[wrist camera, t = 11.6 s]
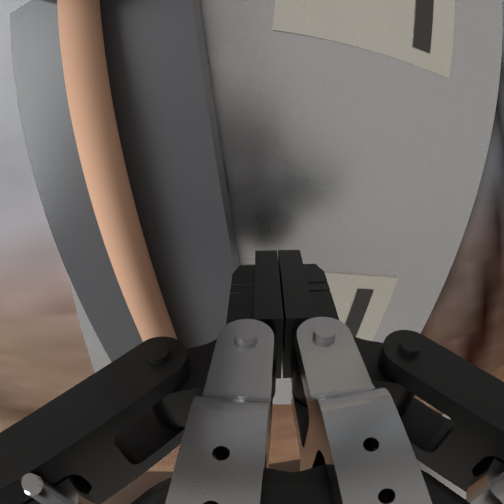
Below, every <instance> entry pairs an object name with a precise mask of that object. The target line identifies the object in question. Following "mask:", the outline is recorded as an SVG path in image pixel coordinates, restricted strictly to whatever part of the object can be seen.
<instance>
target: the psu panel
mask: <svg viewBox="0 0 504 504" xmlns="http://www.w3.org/2000/svg"><path fill="white" fill-rule="evenodd" d="M199 3H200V10H201V17H202V24H203V32H204V39H205V46H206V53H207V60H208V67H209V73H210V80H211V87H212V94H213V100H214V107H215V114H216V120H217V127H218V133H219V140H220V146H221V153H222V159H223V166H224V172H225V178H226V185H227V191H228V197H229V203H230V209H231V216H232V222H233V228H234V234H235V240H236V246H237V252H238V258H239V264H240V265H255V251H262V250H277V257H278V250H300V253H301V257H302V261H303V264H316V265H317V266H319V267H320V268H321V269H322V270H323V271H324V272H325V275H326V279H327V283H328V285H329V288H330V292H331V294H332V298H333V301H334V304H335V307H336V311H337V314H338V317H339V321H341V322H343V323H344V324H345V325H346V326H347V327H348V328H349V329H350V331H351V333H352V335H353V336H355V337H357V338H360V339H364V340H369V341H375V342H381V343H384V340H385V338H386V337H387V336H388V335H389V334H390V333H392V332H394V331H398V330H411V331H415V332H418V333H420V334H421V332H422V330H423V328H424V326H425V324H426V322H427V320H428V318H429V316H430V314H431V312H432V310H433V307H434V305H435V303H436V301H437V299H438V297H439V294H440V292H441V290H442V288H443V286H444V283H445V281H446V279H447V276H448V274H449V271H450V269H451V267H452V264H453V262H454V259H455V257H456V254H457V251H458V249H459V246H460V243H461V241H462V238H463V235H464V232H465V229H466V226H467V224H468V221H469V217H470V214H471V211H472V208H473V205H474V202H475V198H476V195H477V191H478V188H479V184H480V181H481V177H482V173H483V169H484V165H485V161H486V157H487V152H488V148H489V143H490V138H491V133H492V128H493V123H494V117H495V111H496V104H497V97H498V89H499V80H500V70H501V57H502V36H503V8H502V0H199ZM69 279H70V278H69ZM70 284H71V289H72V293H73V297H74V302H75V306H76V310H77V314H78V318H79V322H80V325H81V329H82V332H83V336H84V339H85V343H86V346H87V350H88V353H89V356H90V359H91V362H92V365H93V368H94V371H95V373H96V372H97V371H99V370H101V369H102V368H104V367H105V366H107V365H108V364H110V363H111V360H110V359H109V357H108V355H107V353H106V351H105V350H104V348H103V346H102V344H101V342H100V340H99V338H98V336H97V335H96V333H95V331H94V329H93V327H92V325H91V323H90V321H89V319H88V317H87V315H86V313H85V311H84V308H83V306H82V304H81V302H80V300H79V298H78V296H77V293H76V291H75V289H74V287H73V284H72V282H71V280H70ZM291 393H292V383H291V378H283V370H282V369H281V378H278V379H276V391H275V396H274V398H273V404H292V403H291Z"/></svg>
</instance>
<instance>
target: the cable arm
mask: <svg viewBox="0 0 504 504" xmlns="http://www.w3.org/2000/svg"><path fill="white" fill-rule="evenodd" d="M10 27H11V47H12V59H13V69H14V78H15V86H16V93H17V100H18V106H19V112H20V117H21V123H22V128H23V133H24V137H25V142H26V146H27V151H28V155H29V159H30V163H31V167H32V171H33V174H34V178H35V182H36V185H37V189H38V192H39V195H40V199H41V202H42V205H43V208H44V211H45V214H46V217H47V220H48V223H49V226H50V229H51V232H52V234H53V237H54V240H55V243H56V245H57V248H58V250H59V253H60V256H61V258H62V261H63V263H64V266H65V268H66V270H67V273H68V275H69V278H70V280H71V282H72V284H73V287H74V289H75V291H76V293H77V296H78V298H79V300H80V302H81V304H82V306H83V308H84V311H85V313H86V315H87V317H88V319H89V321H90V323H91V325H92V327H93V329H94V331H95V333H96V335H97V336H98V338H99V340H100V342H101V344H102V346H103V348H104V350H105V351H106V353H107V355H108V357H109V359H110V360H111V362H113V361H114V360H116V359H118V358H119V357H121V356H122V355H124V354H125V353H127V352H128V351H130V350H131V349H133V348H135V347H136V346H138V345H139V344H141V343H142V342H144V341H146V340H148V339H151V338H154V337H162V336H165V337H172V338H175V339H177V340H179V341H180V342H181V343H183V345H184V346H185V348H186V349H187V348H192V347H197V346H201V345H205V344H207V343H210V342H212V341H214V340H215V339H217V337H218V334H219V332H220V330H221V329H222V328H223V327H224V326H225V325H226V320H227V312H228V304H229V297H230V289H231V281H232V274H233V273H234V272H235V270H236V269H237V268H238V267H239V266H240V264H239V258H238V252H237V246H236V240H235V234H234V228H233V222H232V216H231V209H230V203H229V197H228V191H227V185H226V178H225V172H224V166H223V159H222V153H221V146H220V140H219V133H218V127H217V120H216V114H215V107H214V100H213V94H212V87H211V80H210V73H209V67H208V60H207V53H206V46H205V39H204V32H203V24H202V17H201V10H200V3H199V0H32V1H30V2H28V3H27V4H25V5H23V6H22V7H20V8H18V9H17V10H15V11H13V12H12V13H10Z"/></svg>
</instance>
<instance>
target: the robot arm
mask: <svg viewBox="0 0 504 504" xmlns="http://www.w3.org/2000/svg"><path fill="white" fill-rule="evenodd" d="M281 369H282V370H283V378H291V383H292V393H291V403H292V409H293V415H294V420H295V426H296V432H297V438H298V444H299V450H300V470H301V471H300V472H293V473H291V472H284V471H279V470H274V469H269V468H268V463H269V449H270V436H271V422H272V407H273V398H274V396H275V391H276V379H278V378H281ZM415 395H416V396H418V397H419V398H421V399H422V400H424V401H426V402H427V403H429V404H430V405H432V406H433V407H435V408H436V409H438V410H440V411H441V412H443V413H444V414H446V415H447V416H449V417H450V418H451V419H452V420H450V419H447V418H445V417H443V416H442V415H440V414H439V413H437V412H435V411H434V410H432V409H431V408H429V407H428V406H426V405H425V404H423V403H422V402H420V401H419V400H417V399H416V398H414V396H415ZM180 444H181V445H180ZM178 445H180V449H179V452H178V456H177V460H176V464H175V468H174V471H173V475H172V478H169V479H167V480H165V481H162V482H161V483H158V484H157V485H155V486H153V487H152V488H150V489H149V490H147V491H146V492H145V493H144V494H142V495H141V496H140V497H139V498H137V499H136V500H135V501H134V502H132V503H131V504H504V382H502V381H501V380H499V379H497V378H495V377H494V376H492V375H490V374H489V373H487V372H485V371H484V370H482V369H480V368H478V367H477V366H475V365H473V364H472V363H470V362H468V361H467V360H465V359H463V358H461V357H460V356H458V355H456V354H455V353H453V352H451V351H449V350H448V349H446V348H444V347H442V346H441V345H439V344H437V343H436V342H434V341H432V340H430V339H429V338H427V337H425V336H423V335H422V334H420V333H418V332H415V331H411V330H398V331H394V332H392V333H390V334H389V335H388V336H387V337H386V338H385V340H384V343H381V342H375V341H369V340H364V339H360V338H357V337H355V336H353V335H352V333H351V331H350V329H349V328H348V327H347V326H346V325H345V324H344V323H343V322H341V321H339V317H338V314H337V311H336V307H335V304H334V301H333V298H332V294H331V292H330V288H329V285H328V283H327V279H326V275H325V272H324V271H323V270H322V269H321V268H320V267H319V266H317V265H316V264H303V261H302V257H301V253H300V250H278V257H277V250H262V251H255V265H240V266H239V267H238V268H237V269H236V270H235V272H234V273H233V274H232V281H231V289H230V297H229V304H228V312H227V320H226V325H225V326H224V327H223V328H222V329H221V330H220V332H219V334H218V337H217V339H215V340H214V341H212V342H210V343H207V344H205V345H201V346H197V347H192V348H187V349H186V348H185V346H184V345H183V343H181V342H180V341H179V340H177V339H175V338H172V337H165V336H162V337H154V338H151V339H148V340H146V341H144V342H142V343H141V344H139V345H138V346H136V347H135V348H133V349H131V350H130V351H128V352H127V353H125V354H124V355H122V356H121V357H119V358H118V359H116V360H114V361H113V362H111V363H110V364H108V365H107V366H105V367H104V368H102V369H101V370H99V371H97V372H96V373H94V374H93V375H91V376H90V377H88V378H87V379H85V380H83V381H82V382H80V383H79V384H77V385H76V386H74V387H72V388H71V389H69V390H68V391H66V392H65V393H63V394H61V395H60V396H58V397H57V398H55V399H54V400H52V401H50V402H49V403H47V404H46V405H44V406H42V407H41V408H39V409H38V410H36V411H35V412H33V413H31V414H30V415H28V416H27V417H25V418H23V419H22V420H20V421H19V422H17V423H15V424H14V425H12V426H10V427H9V428H7V429H6V430H4V431H2V432H1V433H0V504H101V503H102V502H104V501H106V500H107V499H108V498H110V497H111V496H112V495H114V494H116V493H117V492H118V491H120V490H121V489H122V488H124V487H125V486H127V485H128V484H129V483H131V482H132V481H133V480H135V479H136V478H138V477H139V476H140V475H142V474H143V473H144V472H145V471H147V470H148V469H149V468H151V467H152V466H153V465H155V464H156V463H157V462H158V461H160V460H161V459H162V458H163V457H165V456H166V455H167V454H168V453H170V452H171V451H172V450H173V449H175V448H176V447H177V446H178ZM417 460H419V461H420V462H422V463H423V464H425V465H426V466H427V467H429V468H430V469H432V470H434V471H435V472H437V473H438V474H439V475H441V476H442V477H444V478H446V479H447V480H449V481H450V482H452V483H453V484H455V485H456V486H458V487H459V488H461V489H463V490H464V491H466V492H467V495H466V497H467V498H466V500H465V499H463V498H462V497H461V496H459V495H458V494H456V493H455V492H453V491H452V490H450V489H449V488H448V487H446V486H445V485H444V484H442V483H441V482H439V481H438V480H437V479H435V478H434V477H432V476H431V475H429V474H428V473H426V472H424V471H422V470H420V467H419V465H418V462H417Z"/></svg>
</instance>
